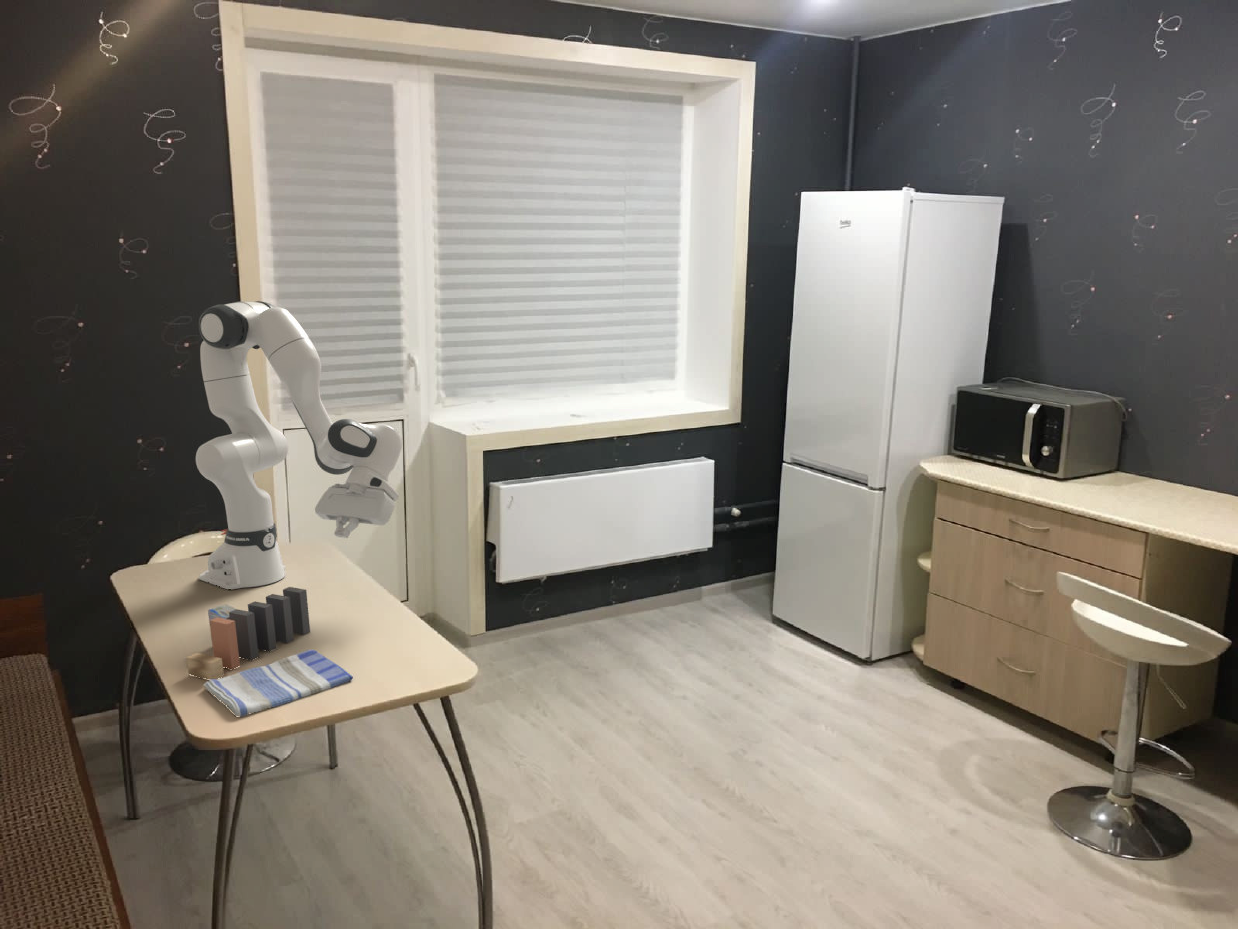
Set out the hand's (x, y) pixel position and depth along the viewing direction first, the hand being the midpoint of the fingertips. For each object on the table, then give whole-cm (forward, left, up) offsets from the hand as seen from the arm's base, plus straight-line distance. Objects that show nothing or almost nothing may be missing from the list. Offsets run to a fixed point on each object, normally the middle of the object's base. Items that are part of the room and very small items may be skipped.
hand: (340, 536), depth 225 cm
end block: (0, -41, -18) cm, 44 cm away
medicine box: (-7, -28, -18) cm, 34 cm away
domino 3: (0, -25, -18) cm, 31 cm away
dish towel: (+16, -38, -19) cm, 45 cm away
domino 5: (0, -15, -18) cm, 24 cm away
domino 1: (0, -35, -18) cm, 40 cm away
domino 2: (0, -30, -18) cm, 35 cm away
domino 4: (0, -20, -18) cm, 27 cm away
